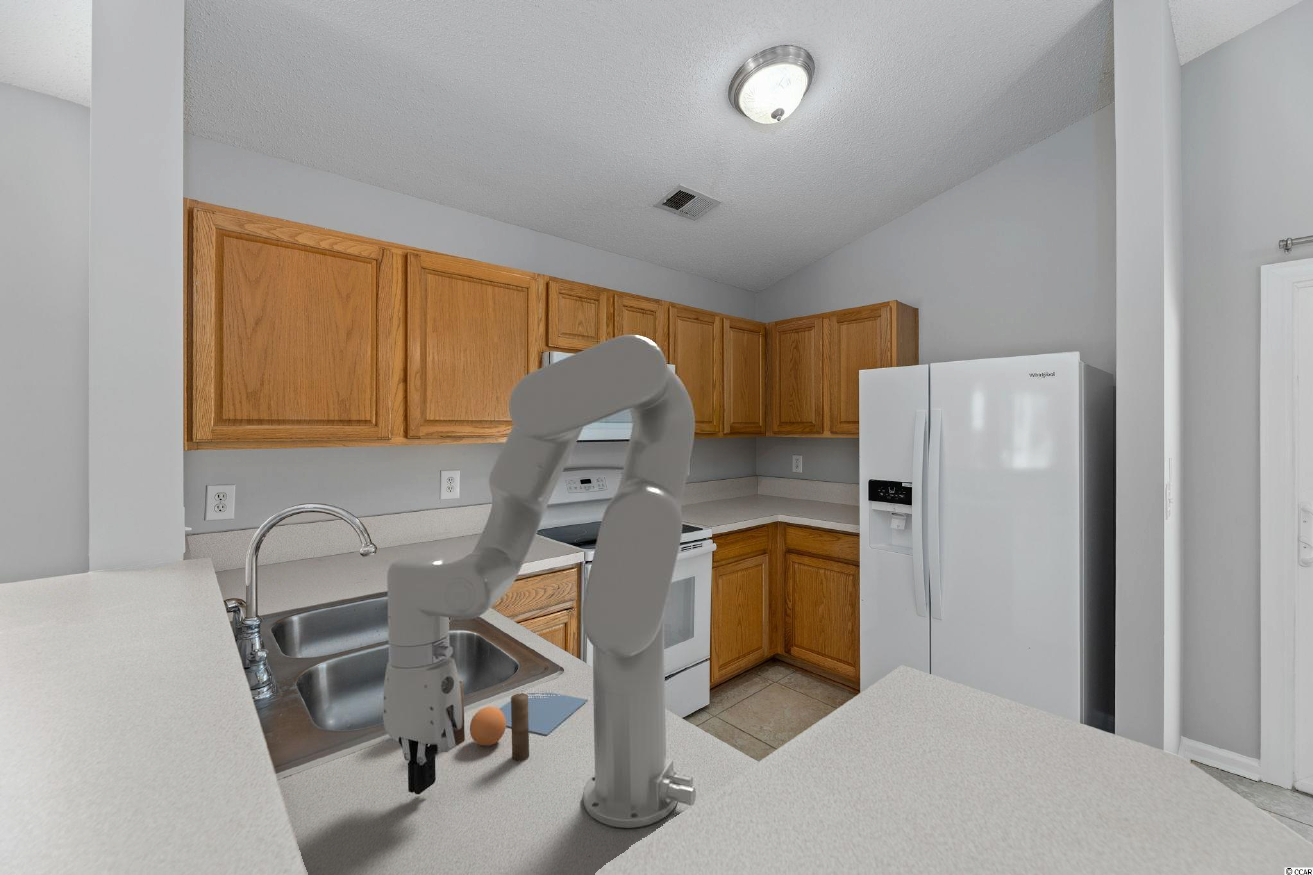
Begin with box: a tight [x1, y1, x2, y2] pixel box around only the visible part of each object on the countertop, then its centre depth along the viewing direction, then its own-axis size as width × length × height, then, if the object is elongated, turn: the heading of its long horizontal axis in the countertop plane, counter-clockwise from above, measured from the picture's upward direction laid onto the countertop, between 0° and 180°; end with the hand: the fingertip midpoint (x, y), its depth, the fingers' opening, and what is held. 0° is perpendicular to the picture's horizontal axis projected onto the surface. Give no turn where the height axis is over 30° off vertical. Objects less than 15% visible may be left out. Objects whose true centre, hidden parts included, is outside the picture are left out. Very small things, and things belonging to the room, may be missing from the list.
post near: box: [510, 692, 530, 763], centre depth 85 cm, size 2×2×9 cm
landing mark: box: [498, 690, 589, 736], centre depth 99 cm, size 13×13×1 cm
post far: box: [453, 680, 466, 746], centre depth 89 cm, size 2×2×9 cm
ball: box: [469, 706, 507, 747], centre depth 88 cm, size 6×6×6 cm
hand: (422, 787), depth 75 cm, fingers closed
